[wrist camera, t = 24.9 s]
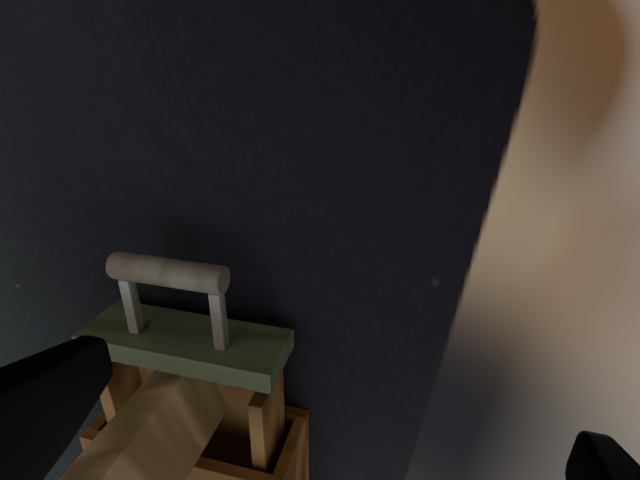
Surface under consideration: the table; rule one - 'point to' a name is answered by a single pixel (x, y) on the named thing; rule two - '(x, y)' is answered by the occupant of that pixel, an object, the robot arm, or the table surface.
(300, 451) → the cabinet
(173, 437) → the block
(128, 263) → the drawer
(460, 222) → the table surface
